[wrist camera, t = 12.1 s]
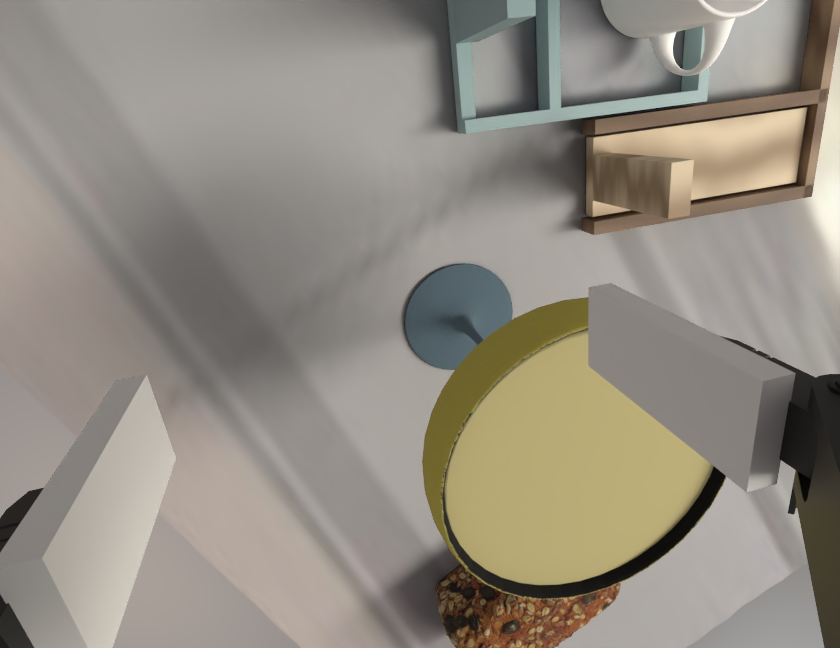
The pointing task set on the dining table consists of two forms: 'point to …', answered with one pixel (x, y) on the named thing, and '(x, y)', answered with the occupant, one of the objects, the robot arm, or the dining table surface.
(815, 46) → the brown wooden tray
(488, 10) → the teal divided frame
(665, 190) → the light wood drawer
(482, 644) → the bread
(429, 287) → the cocktail glass
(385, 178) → the dining table surface
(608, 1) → the mug
